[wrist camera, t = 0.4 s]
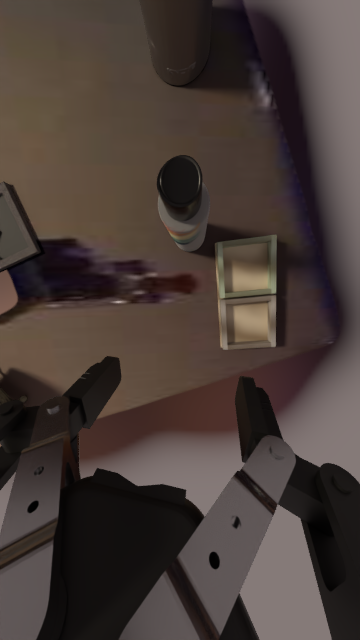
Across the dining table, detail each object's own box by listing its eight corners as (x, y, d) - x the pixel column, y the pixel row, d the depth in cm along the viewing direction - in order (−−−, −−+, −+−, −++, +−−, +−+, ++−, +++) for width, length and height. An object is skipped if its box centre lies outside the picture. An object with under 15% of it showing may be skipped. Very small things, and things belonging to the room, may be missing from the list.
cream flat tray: (214, 244, 34) (216, 241, 31) (270, 237, 33) (277, 233, 30) (220, 345, 38) (222, 350, 35) (270, 342, 37) (276, 347, 34)
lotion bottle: (192, 212, 33) (185, 117, 14) (211, 238, 34) (229, 183, 14) (168, 233, 34) (129, 174, 15) (186, 258, 35) (172, 232, 15)
